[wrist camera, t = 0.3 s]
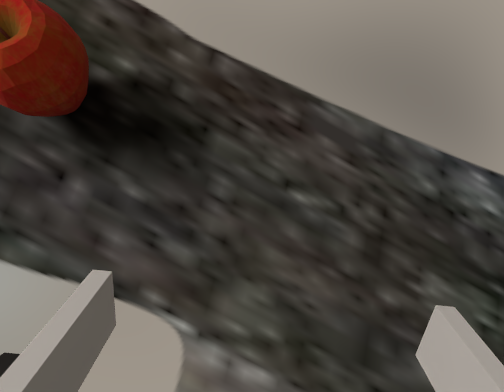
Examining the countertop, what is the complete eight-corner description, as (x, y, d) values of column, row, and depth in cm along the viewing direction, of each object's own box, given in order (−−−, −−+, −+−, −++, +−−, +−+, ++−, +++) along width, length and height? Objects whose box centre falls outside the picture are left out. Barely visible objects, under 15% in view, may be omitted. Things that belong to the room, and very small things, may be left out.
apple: (125, 124, 30) (67, 49, 20) (38, 154, 29) (-72, 91, 19) (100, 54, 32) (34, -51, 21) (17, 79, 31) (-96, -18, 20)
